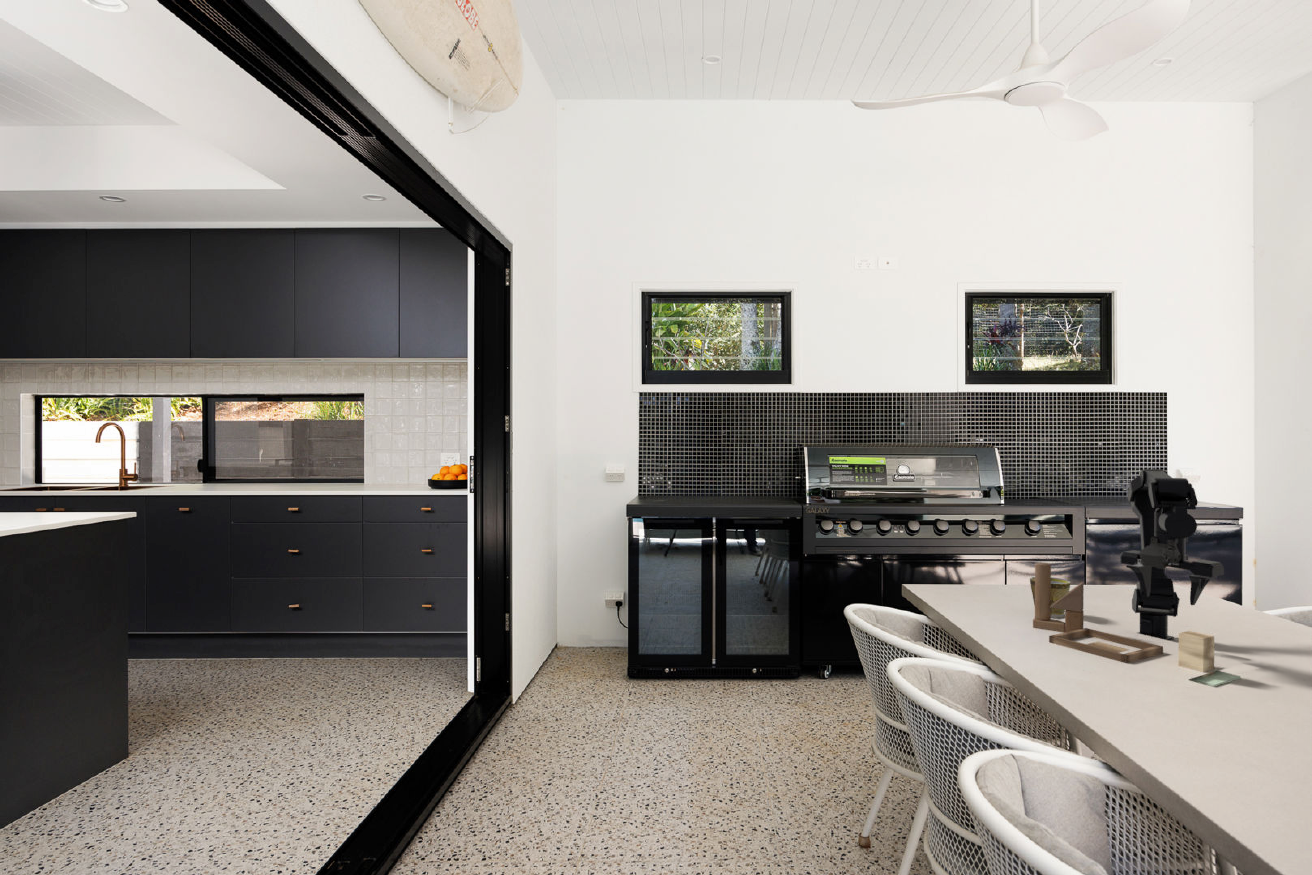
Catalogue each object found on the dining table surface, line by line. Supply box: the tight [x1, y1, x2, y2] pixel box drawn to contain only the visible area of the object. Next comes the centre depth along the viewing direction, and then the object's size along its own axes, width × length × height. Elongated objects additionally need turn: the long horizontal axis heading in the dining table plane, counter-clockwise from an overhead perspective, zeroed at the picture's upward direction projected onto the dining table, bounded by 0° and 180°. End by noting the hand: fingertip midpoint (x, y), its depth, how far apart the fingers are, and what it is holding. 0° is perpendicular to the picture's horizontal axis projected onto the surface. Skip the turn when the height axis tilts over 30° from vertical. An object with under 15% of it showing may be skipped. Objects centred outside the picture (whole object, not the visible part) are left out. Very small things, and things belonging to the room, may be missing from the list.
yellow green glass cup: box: [1029, 576, 1071, 619], centre depth 197 cm, size 13×10×10 cm
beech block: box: [1178, 630, 1215, 677], centre depth 146 cm, size 4×4×8 cm
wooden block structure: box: [1032, 561, 1085, 633], centre depth 175 cm, size 4×11×18 cm, turn 52°
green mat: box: [1187, 670, 1241, 688], centre depth 146 cm, size 11×11×1 cm
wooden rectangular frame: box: [1048, 627, 1164, 664], centre depth 160 cm, size 15×17×3 cm
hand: (1169, 600), depth 158 cm, fingers open, 9 cm apart
